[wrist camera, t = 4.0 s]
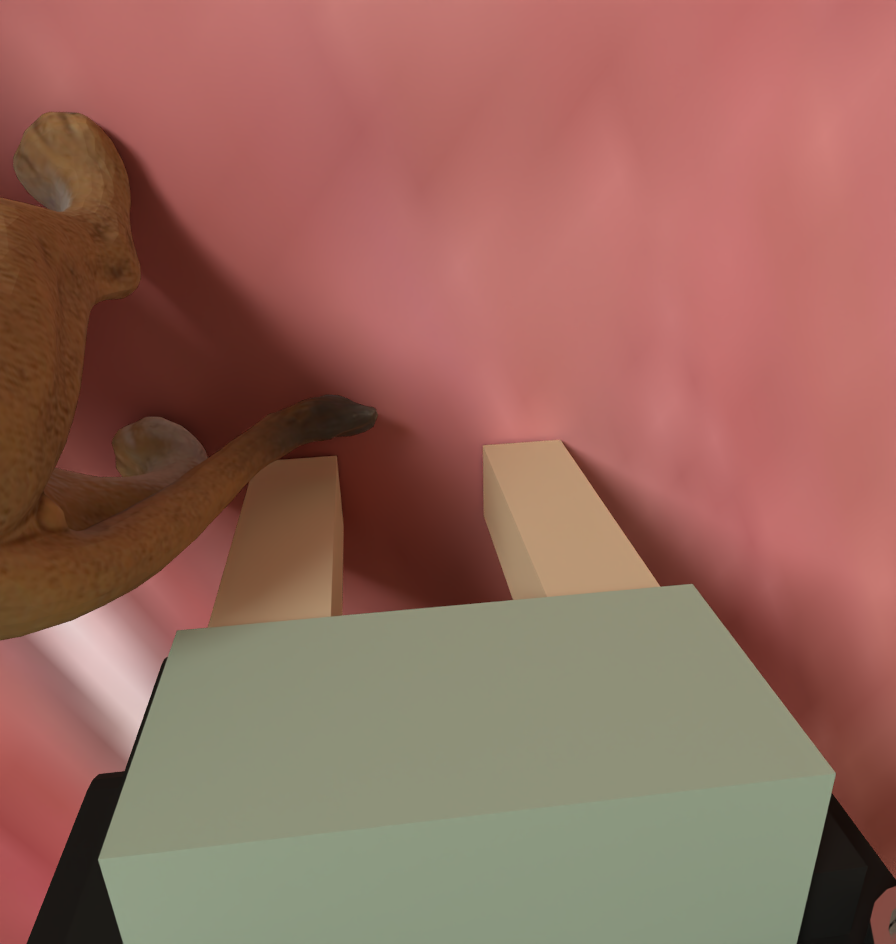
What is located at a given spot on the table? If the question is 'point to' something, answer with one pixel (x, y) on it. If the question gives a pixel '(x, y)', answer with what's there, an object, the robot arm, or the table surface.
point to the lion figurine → (57, 391)
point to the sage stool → (463, 747)
